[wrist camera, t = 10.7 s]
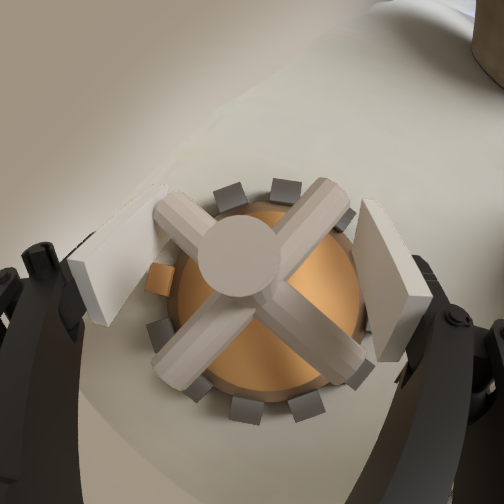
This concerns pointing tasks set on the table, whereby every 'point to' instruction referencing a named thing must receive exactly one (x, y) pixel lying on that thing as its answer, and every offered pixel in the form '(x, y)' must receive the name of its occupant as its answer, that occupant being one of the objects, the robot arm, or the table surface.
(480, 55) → the plant pot
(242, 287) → the pipe connector
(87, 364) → the table surface
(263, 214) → the sprocket wheel
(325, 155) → the table surface
